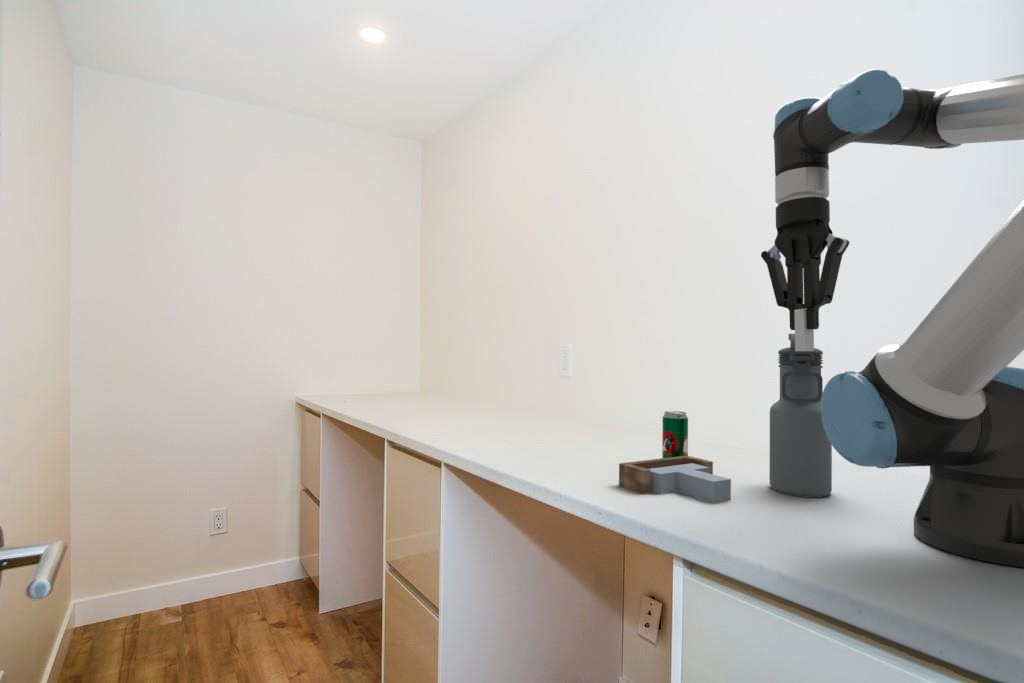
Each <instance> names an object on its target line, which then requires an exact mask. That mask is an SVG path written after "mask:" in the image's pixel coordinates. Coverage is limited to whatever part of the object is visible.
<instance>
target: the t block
mask: <svg viewBox="0 0 1024 683" xmlns="http://www.w3.org/2000/svg"><path fill="white" fill-rule="evenodd" d="M649 470H650V492H652V493H656V494H658V495H666V494H671V493H677V492H678V493H681V494H683V495H686V496H690V497H692V498H696V499H699V500H702V501H706V502H709V503H711V504H719V503H722V502H723V503H724V502H729V501H731V500H732V487H731V486H732V480H731V479H732V478H728V477H724V476H719V475H717V474H714V473H713V474H709V467H706V466H702V465H698V464H694V463H690V464H683V465H675V466H667V467H659V468H652V469H649Z"/></svg>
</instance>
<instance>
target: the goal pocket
mask: <svg viewBox="0 0 1024 683" xmlns="http://www.w3.org/2000/svg"><path fill="white" fill-rule="evenodd" d="M690 463H694V464H698V465H702V466H706V467H709V474H713V475H714V461H712V460H708V459H703V458H699V457H694V456H691V455H688V456H678V457H670V458H662V457H661V458H653V459H645V460H637V461H631V462H629V461H628V462H620V463H618V486H620V487H623V488H625V489H628V490H631V491H634V492H637V493H639V494H642V495H644V494H645V495H647V494H651V491H650V470H649V469H652V468H659V467H667V466H675V465H683V464H690Z"/></svg>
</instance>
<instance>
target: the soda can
mask: <svg viewBox="0 0 1024 683" xmlns="http://www.w3.org/2000/svg"><path fill="white" fill-rule="evenodd" d="M661 437H662V440H661V441H662V444H661V446H662V450H661V451H662V455H661V456H662V457H661V458H670V457H678V456H689V418H688V416H687V412H684V411H679V410H678V411H677V410H675V411H674V410H669V411H666V410H665V411H664V414H663V416H662V436H661Z"/></svg>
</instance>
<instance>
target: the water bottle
mask: <svg viewBox="0 0 1024 683" xmlns="http://www.w3.org/2000/svg"><path fill="white" fill-rule="evenodd" d="M788 340H789V342H790V347H789V346H788V347H785V348H784V347H783V348H782V349H780V350H778V352H777V354H778V359H777V361H778V362H777V364H778V366H777V367H778V368H779V399H778V400H777V401H776V402H774V403H773V404H772V405H771V406H770V408H769V485H770V487H771V488H772V489H773V490H774V491H776V492H779V493H782V494H785V495H790V496H794V497H795V496H796V497H803V498H821V497H825V496H828V495H830V494H831V493H832V489H833V488H832V486H833V484H832V481H833V478H832V477H833V476H832V475H833V474H832V472H833V470H832V469H833V459H832V458H833V454H832V453H833V451H832V450H833V446H832V444H831V443H830V441H829V439H828V437H827V435H826V432H825V430H824V427H823V423H822V414H821V397H822V393H823V390H824V388H823V380H824V379H823V377H822V368H824V367H823V364H824V363H823V361H824V357H823V355H824V352H823V351H822V350H820V349H819V348H816V347H814V351H795V333H788Z"/></svg>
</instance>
